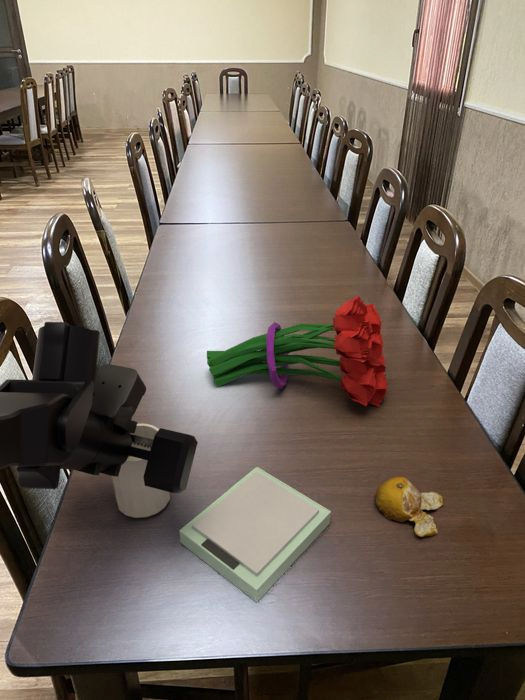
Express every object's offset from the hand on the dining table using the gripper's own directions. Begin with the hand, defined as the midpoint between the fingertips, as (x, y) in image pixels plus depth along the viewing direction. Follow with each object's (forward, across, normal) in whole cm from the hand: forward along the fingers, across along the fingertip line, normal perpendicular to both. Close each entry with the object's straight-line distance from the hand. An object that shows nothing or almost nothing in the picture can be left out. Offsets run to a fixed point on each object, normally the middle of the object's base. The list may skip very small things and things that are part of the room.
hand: (143, 451), depth 67 cm
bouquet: (+26, -12, -15) cm, 32 cm away
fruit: (+10, -33, 0) cm, 35 cm away
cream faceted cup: (+4, 0, +6) cm, 7 cm away
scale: (+4, -16, +6) cm, 17 cm away
